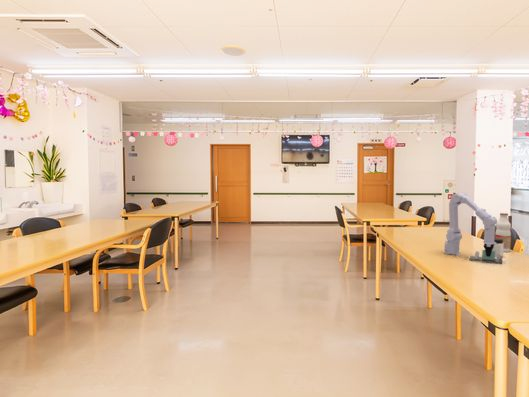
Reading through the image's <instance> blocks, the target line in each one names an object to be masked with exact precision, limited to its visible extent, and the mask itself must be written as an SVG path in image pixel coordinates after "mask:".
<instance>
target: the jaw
mask: <svg viewBox="0 0 529 397" xmlns="http://www.w3.org/2000/svg"><path fill="white" fill-rule="evenodd" d="M474 256H475V259H479V257H480V251H477V250H476V251H475V253H474Z"/></svg>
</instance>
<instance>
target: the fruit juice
mask: <svg viewBox="0 0 529 397" xmlns="http://www.w3.org/2000/svg"><path fill="white" fill-rule="evenodd" d="M508 216H509V214H508V213H507V212H500V213H499V220H497V223H496V225H495V237H494V238H500V239H503V243H504V246H503V253H510V251H511V242H512V241H511V240H512V237H511V236H512V233H511V232H512V231H511V227H512V224H511V222H510V221H509V218H508Z"/></svg>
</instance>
